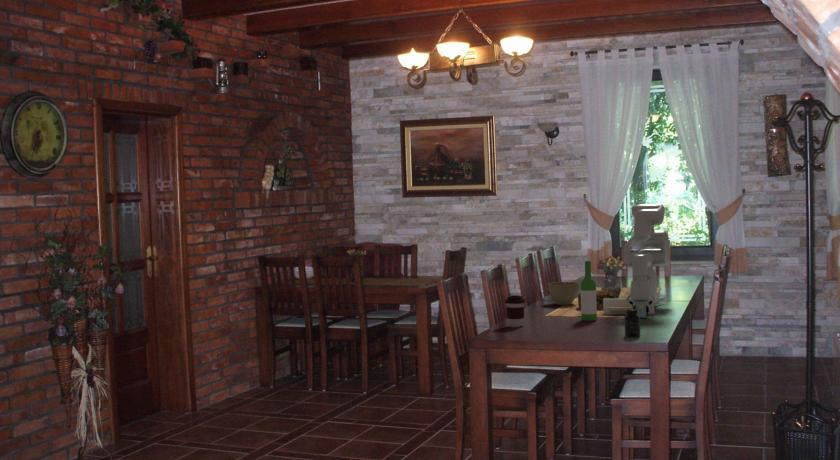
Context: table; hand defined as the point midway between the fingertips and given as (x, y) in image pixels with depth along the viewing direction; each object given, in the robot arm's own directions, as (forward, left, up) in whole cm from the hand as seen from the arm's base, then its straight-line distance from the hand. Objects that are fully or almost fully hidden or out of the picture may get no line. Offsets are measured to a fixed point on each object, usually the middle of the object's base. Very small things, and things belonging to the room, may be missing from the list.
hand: (641, 313), depth 428 cm
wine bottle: (+27, -4, -2) cm, 27 cm away
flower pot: (+12, -64, -2) cm, 65 cm away
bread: (+4, -41, -2) cm, 41 cm away
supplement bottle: (+31, +45, -2) cm, 54 cm away
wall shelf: (-1, -13, -2) cm, 13 cm away
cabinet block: (0, 0, -2) cm, 2 cm away
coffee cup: (+67, -4, -2) cm, 67 cm away
